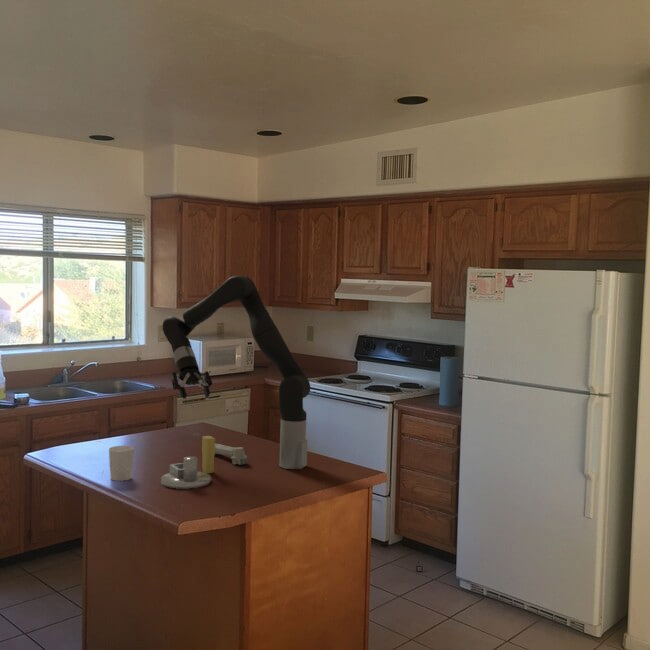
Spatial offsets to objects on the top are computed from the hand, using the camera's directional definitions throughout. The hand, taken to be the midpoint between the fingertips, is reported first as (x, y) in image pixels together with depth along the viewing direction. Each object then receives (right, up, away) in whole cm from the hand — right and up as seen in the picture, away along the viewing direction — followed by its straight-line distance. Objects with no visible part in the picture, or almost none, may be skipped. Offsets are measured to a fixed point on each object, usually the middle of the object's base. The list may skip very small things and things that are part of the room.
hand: (196, 396), depth 249 cm
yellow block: (+5, -25, -8) cm, 27 cm away
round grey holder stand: (0, -26, -21) cm, 33 cm away
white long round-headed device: (+8, -25, +11) cm, 28 cm away
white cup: (-21, -25, -19) cm, 38 cm away
